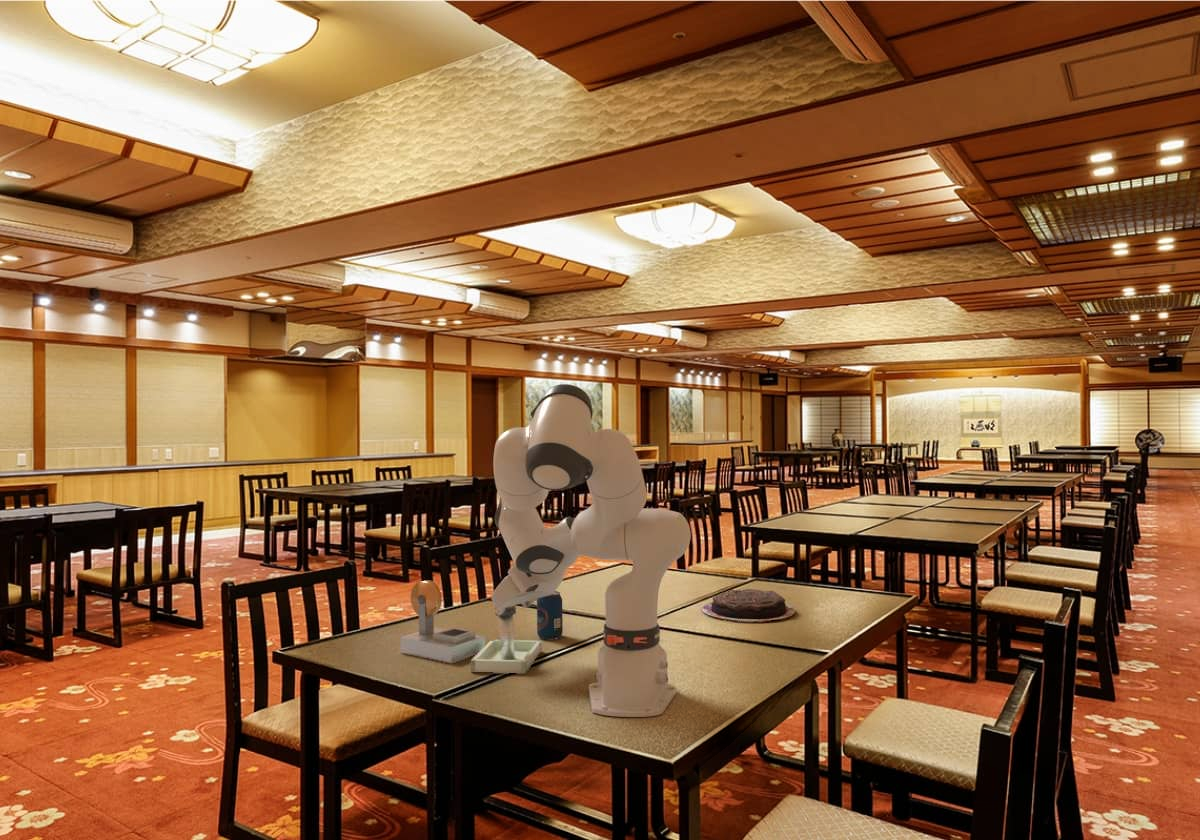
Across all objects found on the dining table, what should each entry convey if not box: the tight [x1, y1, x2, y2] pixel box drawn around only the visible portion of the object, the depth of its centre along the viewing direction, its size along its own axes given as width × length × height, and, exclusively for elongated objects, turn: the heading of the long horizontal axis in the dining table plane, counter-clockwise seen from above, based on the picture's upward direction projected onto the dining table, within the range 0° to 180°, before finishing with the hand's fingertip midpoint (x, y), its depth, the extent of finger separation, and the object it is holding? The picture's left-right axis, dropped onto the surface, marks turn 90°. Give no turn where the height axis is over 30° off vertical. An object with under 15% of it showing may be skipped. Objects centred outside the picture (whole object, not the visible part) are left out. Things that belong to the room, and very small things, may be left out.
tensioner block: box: [400, 579, 486, 664], centre depth 198 cm, size 20×12×18 cm, turn 56°
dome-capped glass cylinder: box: [494, 605, 517, 660], centre depth 188 cm, size 5×5×12 cm
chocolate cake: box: [701, 588, 796, 623], centre depth 236 cm, size 28×28×7 cm
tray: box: [470, 639, 542, 675], centre depth 188 cm, size 18×13×3 cm
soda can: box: [536, 590, 564, 640], centre depth 210 cm, size 7×7×12 cm
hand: (511, 608), depth 189 cm, fingers open, 8 cm apart
